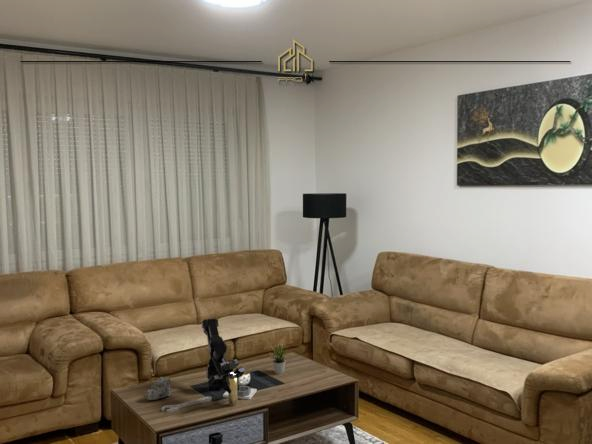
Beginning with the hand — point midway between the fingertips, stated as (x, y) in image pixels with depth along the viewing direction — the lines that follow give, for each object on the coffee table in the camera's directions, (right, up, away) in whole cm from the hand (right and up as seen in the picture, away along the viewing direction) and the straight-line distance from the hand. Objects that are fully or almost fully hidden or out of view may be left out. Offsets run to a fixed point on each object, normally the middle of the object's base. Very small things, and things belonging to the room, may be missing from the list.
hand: (234, 391), depth 271 cm
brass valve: (-1, -7, +2) cm, 7 cm away
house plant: (+19, -3, +47) cm, 51 cm away
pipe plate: (+1, -6, +14) cm, 15 cm away
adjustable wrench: (-22, -7, +1) cm, 24 cm away
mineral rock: (-39, -7, +12) cm, 41 cm away
